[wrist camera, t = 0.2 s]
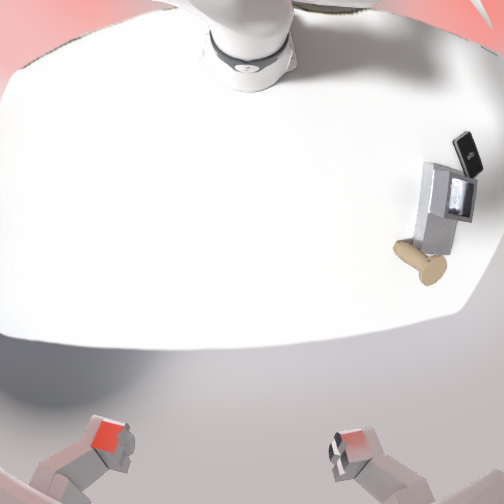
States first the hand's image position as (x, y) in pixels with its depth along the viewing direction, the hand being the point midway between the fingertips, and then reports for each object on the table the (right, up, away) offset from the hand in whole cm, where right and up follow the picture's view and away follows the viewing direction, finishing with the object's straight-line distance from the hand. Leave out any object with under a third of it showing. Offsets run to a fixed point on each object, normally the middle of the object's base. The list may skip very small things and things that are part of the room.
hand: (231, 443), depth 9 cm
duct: (+44, +18, +46) cm, 65 cm away
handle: (+34, +9, +49) cm, 60 cm away
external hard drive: (+54, +31, +42) cm, 75 cm away
